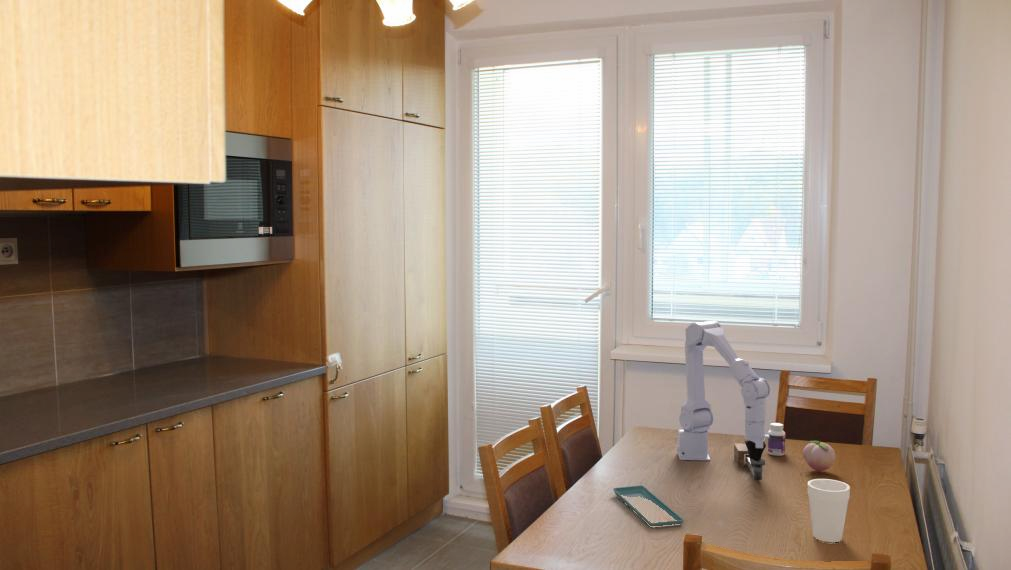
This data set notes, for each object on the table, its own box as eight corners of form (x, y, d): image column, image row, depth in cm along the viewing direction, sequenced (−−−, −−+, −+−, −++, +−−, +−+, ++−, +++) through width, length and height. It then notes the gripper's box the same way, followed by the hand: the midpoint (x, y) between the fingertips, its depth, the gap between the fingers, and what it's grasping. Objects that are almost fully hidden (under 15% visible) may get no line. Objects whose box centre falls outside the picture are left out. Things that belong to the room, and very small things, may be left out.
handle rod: (751, 480, 234) (752, 462, 233) (741, 462, 251) (742, 445, 250) (766, 481, 233) (766, 462, 233) (755, 463, 250) (755, 445, 250)
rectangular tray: (684, 528, 203) (684, 518, 203) (650, 531, 201) (650, 522, 201) (643, 493, 228) (643, 485, 228) (612, 496, 226) (612, 487, 226)
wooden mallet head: (738, 466, 250) (738, 450, 250) (734, 458, 258) (734, 443, 258) (760, 467, 249) (760, 451, 249) (755, 459, 257) (755, 444, 257)
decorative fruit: (841, 474, 242) (842, 441, 241) (820, 478, 239) (820, 444, 238) (818, 465, 250) (819, 433, 249) (797, 469, 247) (798, 436, 246)
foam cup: (799, 531, 199) (800, 479, 198) (836, 529, 199) (837, 478, 198) (817, 547, 189) (819, 492, 188) (856, 545, 190) (857, 490, 189)
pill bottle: (786, 456, 260) (786, 426, 259) (768, 455, 261) (768, 426, 260) (783, 451, 265) (784, 422, 265) (766, 451, 266) (767, 421, 266)
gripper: (774, 426, 231) (773, 473, 232) (764, 414, 246) (764, 459, 247) (748, 426, 232) (748, 473, 233) (740, 414, 247) (740, 458, 248)
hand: (755, 465), depth 240 cm, fingers closed, pressing on handle rod
